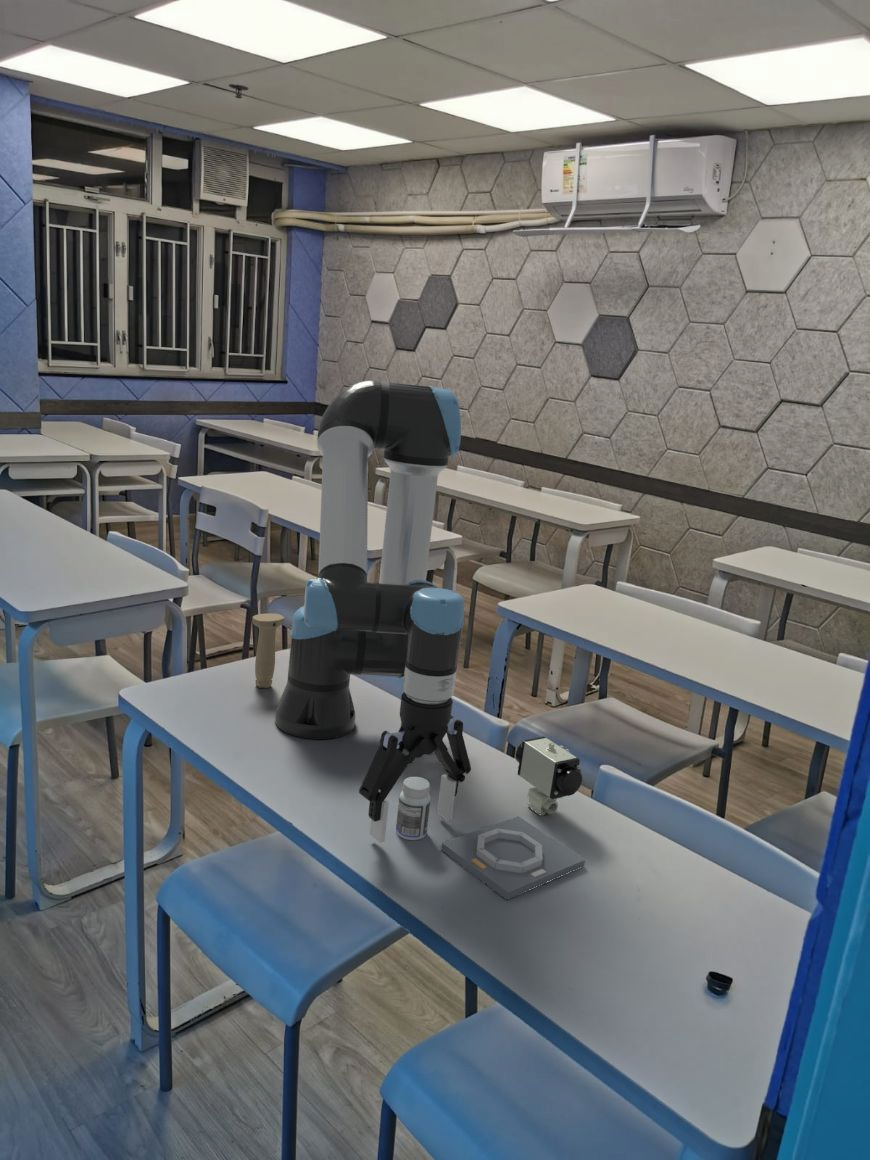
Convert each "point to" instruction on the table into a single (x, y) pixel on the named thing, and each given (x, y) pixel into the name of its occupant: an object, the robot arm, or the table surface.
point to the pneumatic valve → (547, 773)
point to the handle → (266, 647)
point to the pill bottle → (413, 809)
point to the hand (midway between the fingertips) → (411, 826)
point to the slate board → (512, 856)
